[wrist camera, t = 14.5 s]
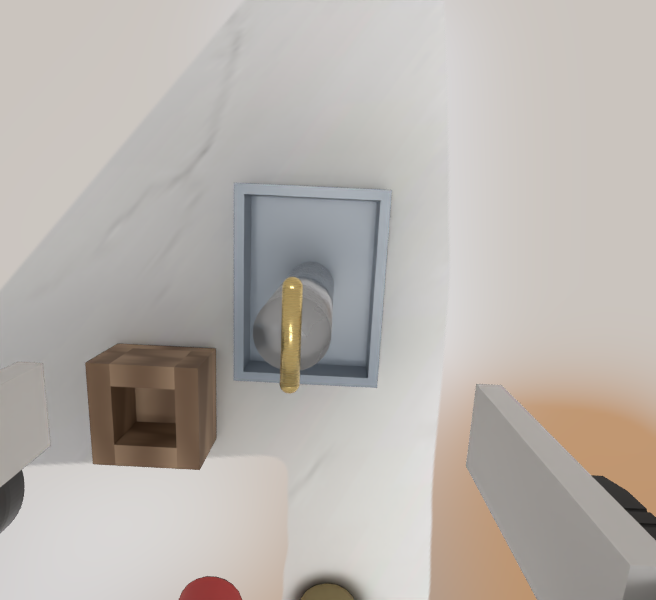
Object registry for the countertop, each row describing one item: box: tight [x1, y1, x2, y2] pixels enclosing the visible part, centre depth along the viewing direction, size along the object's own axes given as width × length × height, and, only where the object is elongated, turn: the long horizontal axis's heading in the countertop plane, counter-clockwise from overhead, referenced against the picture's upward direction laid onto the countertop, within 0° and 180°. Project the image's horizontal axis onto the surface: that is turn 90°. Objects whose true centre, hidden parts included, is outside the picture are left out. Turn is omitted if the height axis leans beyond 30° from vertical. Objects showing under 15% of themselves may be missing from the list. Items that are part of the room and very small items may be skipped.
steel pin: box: [253, 262, 334, 393], centre depth 28 cm, size 4×6×16 cm, turn 177°
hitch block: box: [85, 344, 216, 470], centre depth 36 cm, size 9×9×5 cm
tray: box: [234, 183, 392, 388], centre depth 35 cm, size 12×16×4 cm
